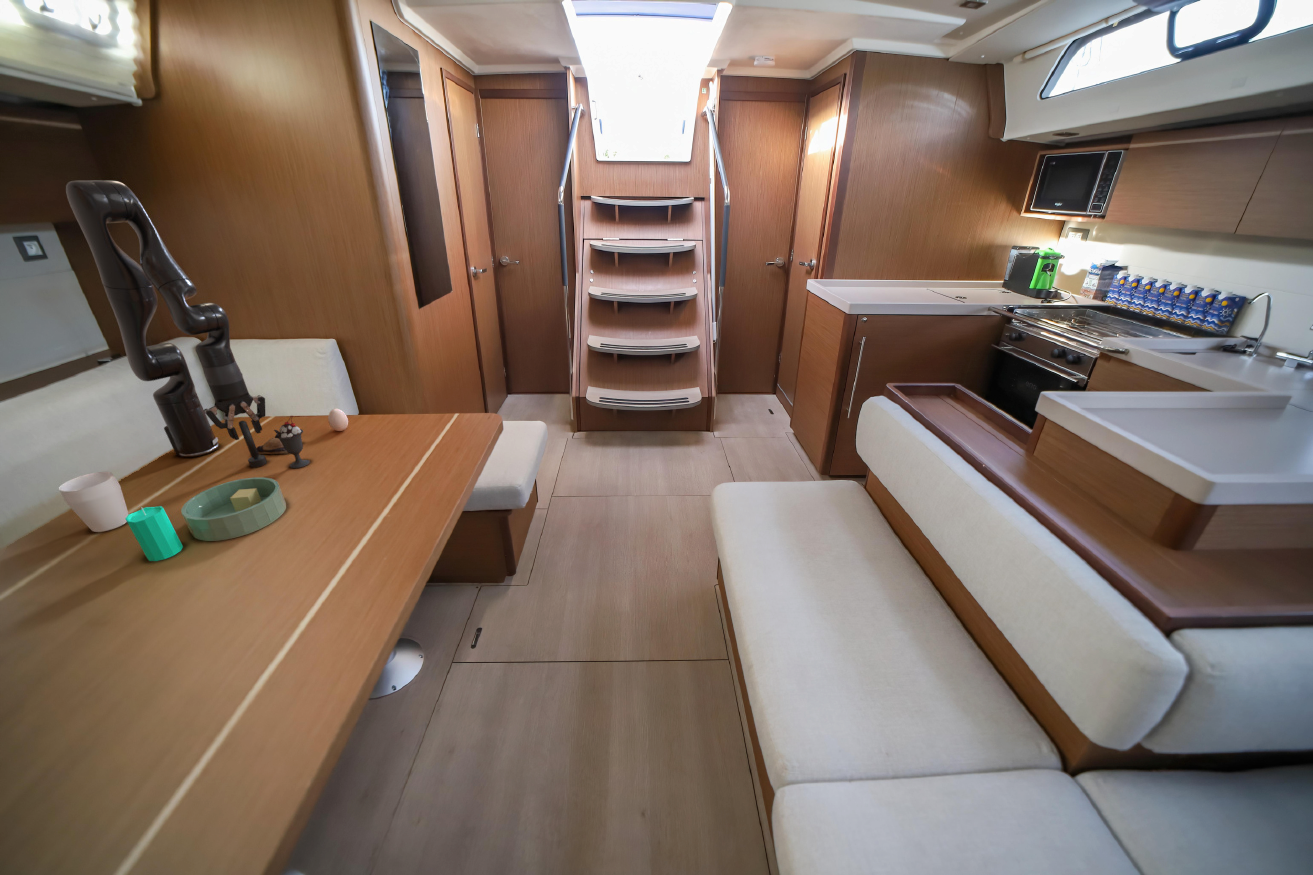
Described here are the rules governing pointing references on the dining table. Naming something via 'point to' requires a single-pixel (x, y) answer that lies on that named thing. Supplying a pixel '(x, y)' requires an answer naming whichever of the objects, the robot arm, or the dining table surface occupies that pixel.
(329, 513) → the dining table surface
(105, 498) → the cup
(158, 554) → the candle
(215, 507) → the bowl
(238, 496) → the block
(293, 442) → the sundae
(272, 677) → the dining table surface
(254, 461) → the dark grey plunger
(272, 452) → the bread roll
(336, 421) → the egg
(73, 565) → the dining table surface
